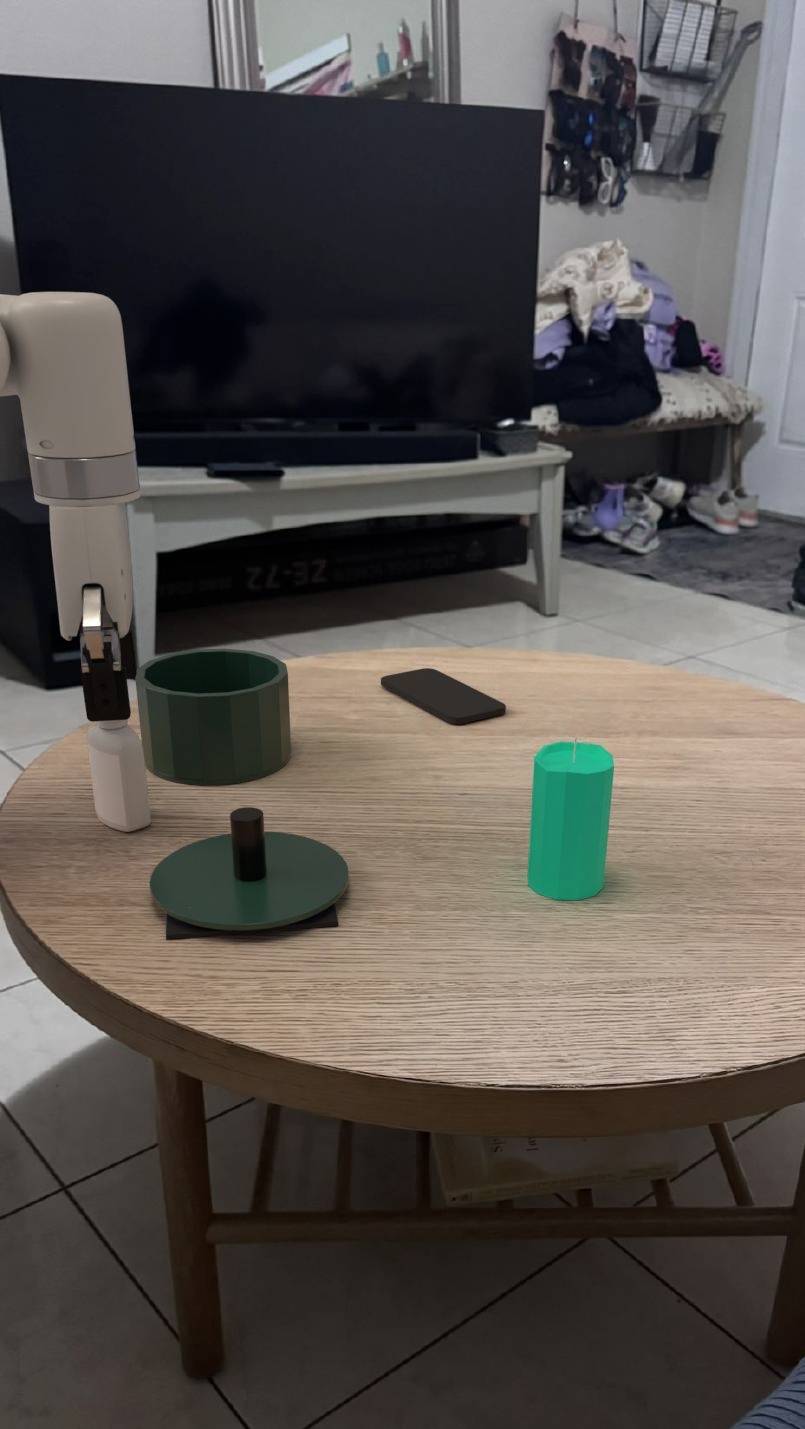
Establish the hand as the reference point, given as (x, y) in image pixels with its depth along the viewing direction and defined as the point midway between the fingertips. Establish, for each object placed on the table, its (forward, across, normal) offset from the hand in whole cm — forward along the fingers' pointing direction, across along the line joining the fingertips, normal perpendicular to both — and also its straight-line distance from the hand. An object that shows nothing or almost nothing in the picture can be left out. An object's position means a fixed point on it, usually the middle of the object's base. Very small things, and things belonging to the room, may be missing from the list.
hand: (113, 697), depth 93 cm
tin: (+11, -13, +8) cm, 19 cm away
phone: (+11, -26, +32) cm, 42 cm away
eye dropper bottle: (+11, 0, 0) cm, 11 cm away
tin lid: (+10, +14, +10) cm, 20 cm away
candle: (+12, +16, +34) cm, 39 cm away
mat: (+11, +14, +10) cm, 20 cm away
